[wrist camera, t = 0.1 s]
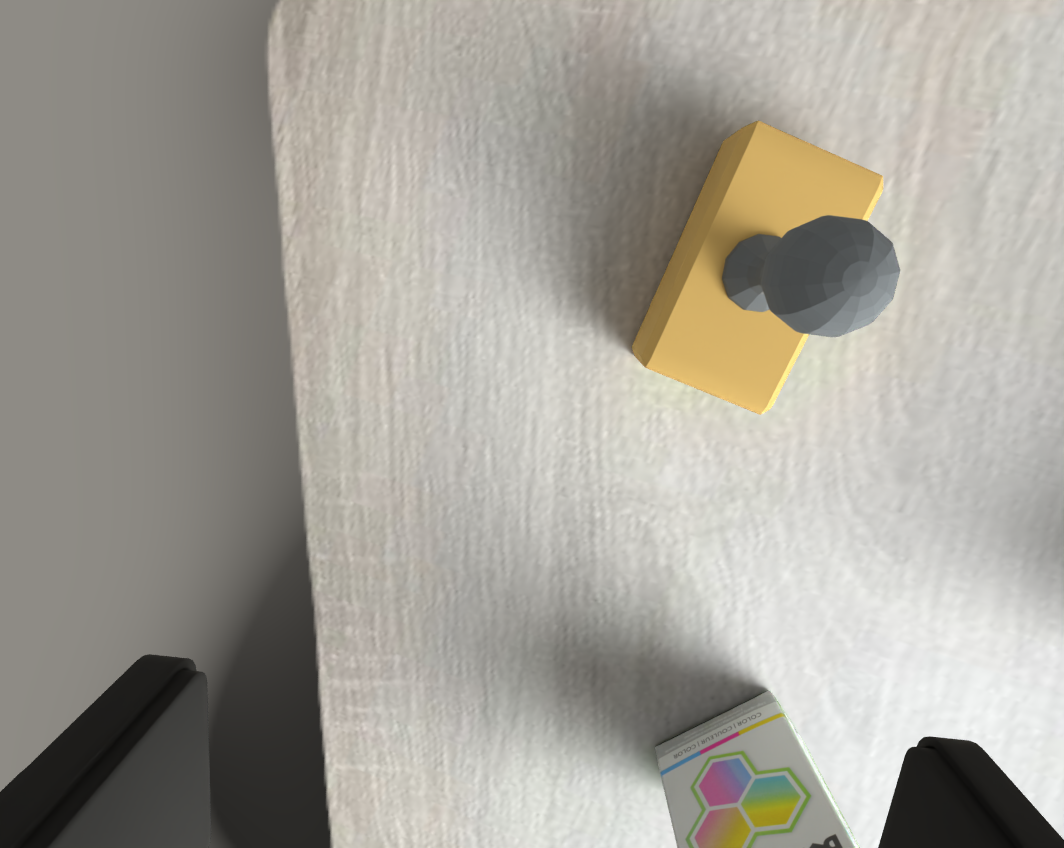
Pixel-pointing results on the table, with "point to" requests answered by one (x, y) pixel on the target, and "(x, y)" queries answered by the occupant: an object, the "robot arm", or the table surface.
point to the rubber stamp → (767, 267)
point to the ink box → (748, 784)
